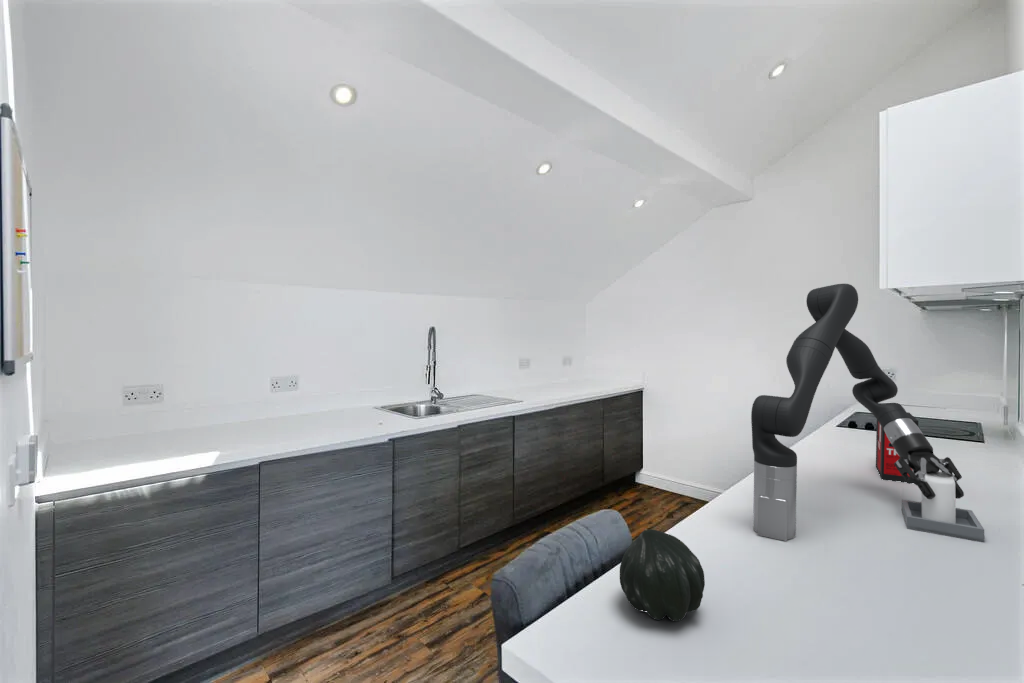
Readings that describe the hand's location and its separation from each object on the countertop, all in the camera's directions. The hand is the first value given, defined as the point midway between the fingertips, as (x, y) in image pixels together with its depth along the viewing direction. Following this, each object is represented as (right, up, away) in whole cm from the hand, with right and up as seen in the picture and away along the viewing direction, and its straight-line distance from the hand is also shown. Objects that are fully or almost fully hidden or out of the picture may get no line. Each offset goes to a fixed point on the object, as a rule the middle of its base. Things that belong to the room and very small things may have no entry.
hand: (946, 497), depth 122 cm
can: (0, -7, +2) cm, 7 cm away
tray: (0, -8, +2) cm, 8 cm away
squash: (-80, -10, -33) cm, 87 cm away
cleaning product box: (+20, -6, +42) cm, 47 cm away
